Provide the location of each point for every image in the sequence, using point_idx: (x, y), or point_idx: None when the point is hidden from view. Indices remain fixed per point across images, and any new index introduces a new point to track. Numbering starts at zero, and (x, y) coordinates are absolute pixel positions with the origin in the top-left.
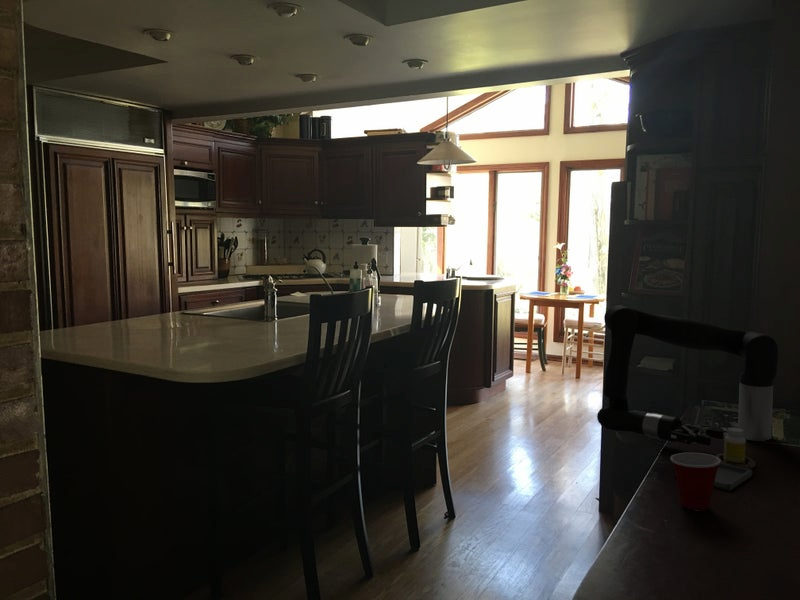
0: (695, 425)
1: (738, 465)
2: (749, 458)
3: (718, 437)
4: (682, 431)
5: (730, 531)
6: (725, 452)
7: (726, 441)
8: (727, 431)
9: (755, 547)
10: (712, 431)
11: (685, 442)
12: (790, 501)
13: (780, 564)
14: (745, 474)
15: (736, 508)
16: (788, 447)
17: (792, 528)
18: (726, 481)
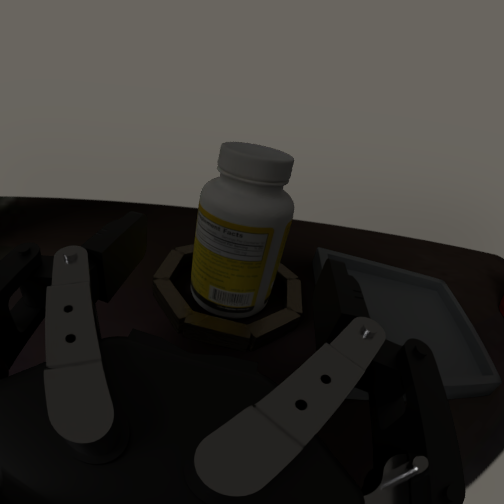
0: (55, 326)
1: (291, 272)
2: (189, 247)
3: (135, 260)
4: (334, 458)
5: (500, 282)
6: (269, 274)
7: (285, 223)
8: (274, 174)
9: (493, 267)
10: (113, 253)
11: (402, 406)
12: (378, 233)
13: (489, 257)
14: (363, 259)
15: (466, 281)
16: (24, 201)
17: (441, 243)
18: (416, 294)
